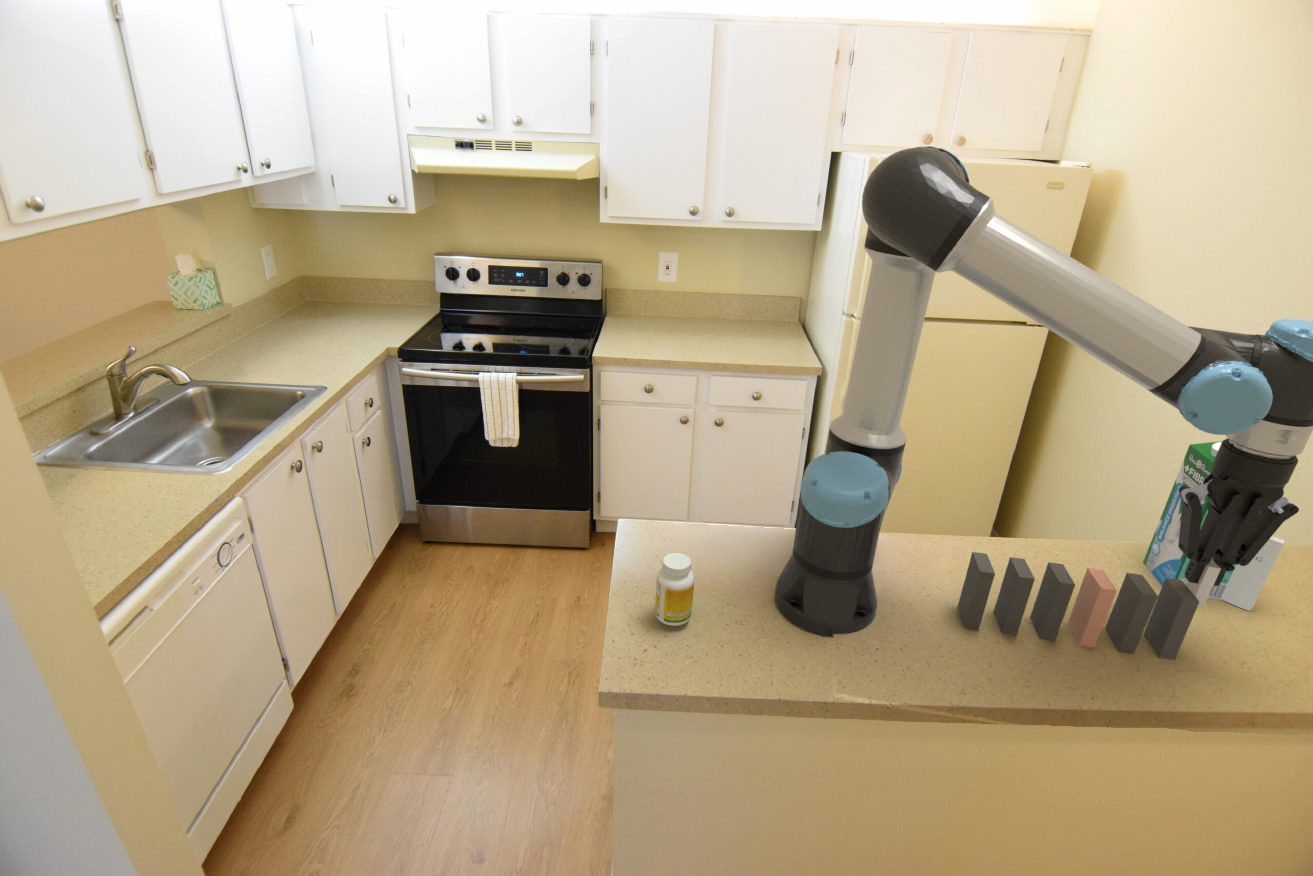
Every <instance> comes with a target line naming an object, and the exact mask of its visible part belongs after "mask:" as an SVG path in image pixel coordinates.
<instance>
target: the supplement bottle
mask: <svg viewBox="0 0 1313 876" xmlns="http://www.w3.org/2000/svg"><path fill="white" fill-rule="evenodd" d="M691 569H692V559H691V558H690V557H689V556H688V555H686V554H684V553H682V552H672V553H669V554H666V555H665V556H664V557H663V559H662V566H661V568H660V569H659V570H658V573H657V574H656V575H657V576H656V589H655V601H654V602H655V604H654V605H655V606H654V613H655V617H656V618H657V620H658V621H659V622H661V624H665V625H668V626H672V627H673V626H674V627H675V626H682V625H684V624H686V623H687V622H689V621H690V619H691V617H692V613H693V611H692V610H693V600H694V588H695V575H694V572H693V571H692V570H691Z"/></svg>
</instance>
